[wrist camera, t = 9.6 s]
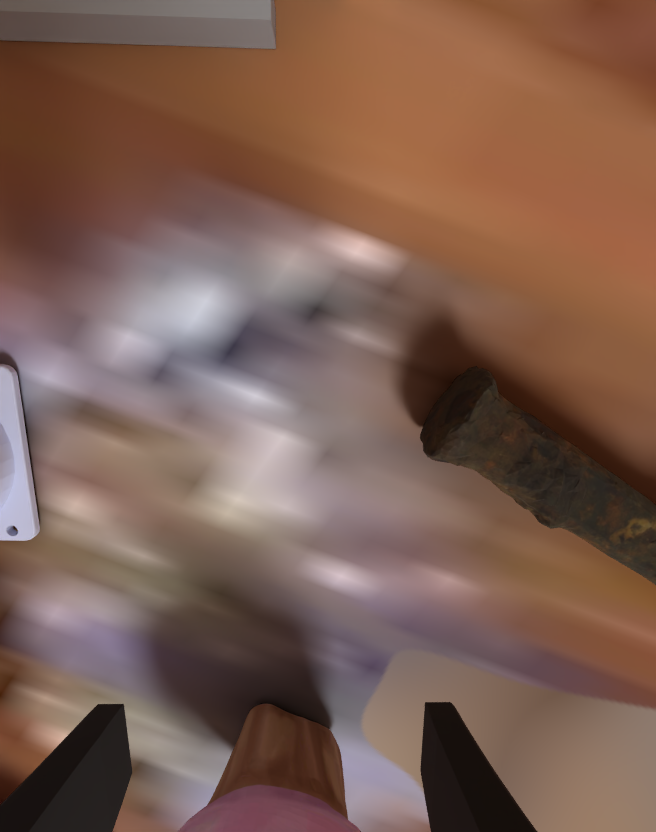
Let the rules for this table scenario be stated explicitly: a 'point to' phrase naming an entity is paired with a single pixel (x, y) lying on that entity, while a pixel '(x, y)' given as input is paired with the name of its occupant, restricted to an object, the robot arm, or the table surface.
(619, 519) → the dark brown rough bar
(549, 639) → the table surface
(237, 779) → the cupcake
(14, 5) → the cradle
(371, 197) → the table surface
